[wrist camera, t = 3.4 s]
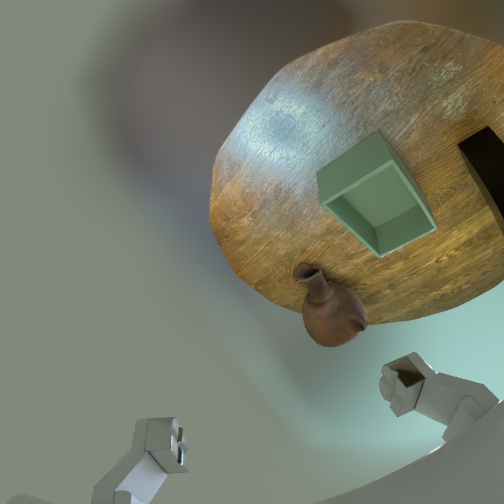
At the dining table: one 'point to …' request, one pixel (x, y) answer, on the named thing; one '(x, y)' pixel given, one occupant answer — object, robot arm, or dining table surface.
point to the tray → (375, 196)
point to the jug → (329, 308)
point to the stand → (487, 168)
